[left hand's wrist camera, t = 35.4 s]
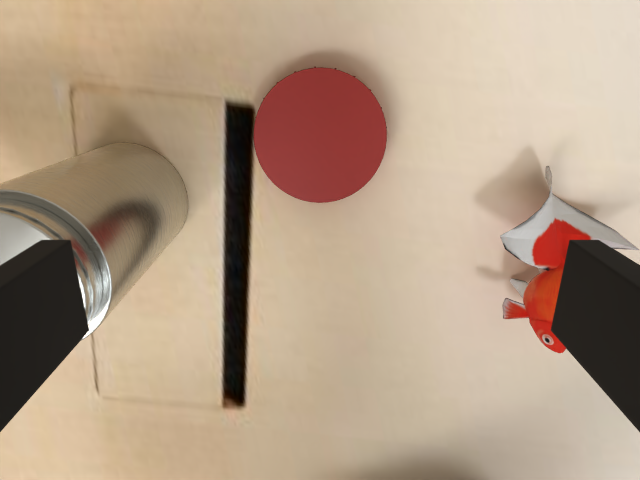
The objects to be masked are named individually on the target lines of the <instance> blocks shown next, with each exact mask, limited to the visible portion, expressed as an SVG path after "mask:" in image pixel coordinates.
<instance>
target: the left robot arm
mask: <svg viewBox="0 0 640 480" xmlns="http://www.w3.org/2000/svg"><path fill="white" fill-rule="evenodd" d="M88 331H89V326H88V321H87V316H86V312H85V307H84V302H83V297H82V292H81V288H80V283H79V278H78V273H77V268H76V263H75V259H74V254H73V249H72V244H71V240H40V241H39V242H37V243H35V244H34V245H32V246H31V247H29V248H27V249H26V250H24V251H22V252H21V253H19V254H18V255H16V256H14V257H13V258H11V259H10V260H8V261H6V262H5V263H3V264H1V265H0V432H1V431H2V429H3V428H4V427H5V426H6V425H7V424H8V423H9V421H10V420H11V419H12V418H13V417H14V416H15V415H16V413H17V412H18V411H19V410H20V409H21V408H22V407H23V405H24V404H25V403H26V402H27V401H28V400H29V399H30V397H31V396H32V395H33V394H34V393H35V392H36V391H37V390H38V388H39V387H40V386H41V385H42V384H43V383H44V382H45V380H46V379H47V378H48V377H49V376H50V375H51V374H52V372H53V371H54V370H55V369H56V368H57V367H58V366H59V364H60V363H61V362H62V361H63V360H64V359H65V358H66V356H67V355H68V354H69V353H70V352H71V351H72V350H73V348H74V347H75V346H76V345H77V344H78V343H79V342H80V341H81V339H82V338H83V337H84V336H85V335H86V334H87V333H88ZM551 331H552V333H553V334H554V335H555V336H556V337H557V338H558V339H559V341H560V342H561V343H562V344H563V345H564V346H565V347H566V348H567V350H568V351H569V352H570V353H571V354H572V355H573V356H574V358H575V359H576V360H577V361H578V362H579V363H580V364H581V366H582V367H583V368H584V369H585V370H586V371H587V372H588V374H589V375H590V376H591V377H592V378H593V379H594V380H595V382H596V383H597V384H598V385H599V386H600V387H601V388H602V390H603V391H604V392H605V393H606V394H607V395H608V396H609V398H610V399H611V400H612V401H613V402H614V403H615V404H616V405H617V407H618V408H619V409H620V410H621V411H622V412H623V413H624V415H625V416H626V417H627V418H628V419H629V420H630V421H631V423H632V424H633V425H634V426H635V427H636V428H637V429H638V431H639V432H640V265H639V264H637V263H635V262H634V261H632V260H630V259H629V258H627V257H626V256H624V255H622V254H621V253H619V252H618V251H616V250H614V249H613V248H611V247H609V246H608V245H606V244H605V243H603V242H601V241H600V240H569V244H568V249H567V254H566V259H565V263H564V268H563V273H562V278H561V283H560V288H559V292H558V297H557V302H556V307H555V312H554V316H553V321H552V326H551Z"/></svg>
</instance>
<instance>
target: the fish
mask: <svg viewBox="0 0 640 480" xmlns="http://www.w3.org/2000/svg"><path fill="white" fill-rule="evenodd" d="M546 180H547V183H548V186H549V190H550V194H549V198H548V199H547V200H546V202H545V203H544V204H543V206H542V207H541V208H540V209H539V210H538V211H537V212H536V213H535V214H534V215H532V216H531V217H530V218H529V219H528V220H527V221H525V222H523V223H522V224H520V225H519V226H517V227H515V228H514V229H512V230H510V231H508V232H506V233H504V234H503V235H501V236H500V237H501V240H502V242H503V245H504V247H505V249H506V250H507V251H509V252H510V253H511V254H513V255H514V256H515V257H517V258H518V259H520V260H521V261H523V262H525V263H527V264H529V265H532V266H535V267H537V268H538V270H539V272H540V274H539V275H537V276H536V277H534V278H533V279H532V280H531V281H530V283H529V284H527V282H525V281H521V280H516V279H511V280H510V282H511V284H512V285H513V286H514V287H515V289H516V290H517V291H518V292H519V294H520V295H521V296H522V298H523V302H524V304H521V303H519V302H516V301H513V300H510V299H508V298H506V299H505V300H504V303H503V313H504V314H503V318H504V319H516V318H529V319H530V324H531V326H532V328H533V329H534V331H535V333H536V335H537V337H538V338H539V339H540V341H541V342H542V343H543V344H544V345H545V346H546V347H548V348H549V349H551V350H552V351H554V352H557V353H563V352H564V351H565V349H566V347H565V346H564V345H563V344H562V343H561V342H560V341H559V339H558V338H557V337H556V336H555V335H554V334H553V333H552V331H551V326H552V321H553V316H554V312H555V307H556V302H557V297H558V292H559V288H560V283H561V278H562V273H563V268H564V263H565V259H566V254H567V249H568V244H569V240H600V241H601V242H603V243H605V244H606V245H608V246H609V247H611V248H613V249H630V250H639V249H638V248H636V247H635V246H634V245H633V244H631V243H630V242H629V241H628V240H626V239H625V238H624V237H623V236H622V235H620V234H619V233H618V232H617V231H615V230H614V229H612V228H610V227H608V226H606V225H605V224H603V223H601V222H599V221H598V220H596V219H594V218H592V217H591V216H589V215H587V214H585V213H583V212H581V211H580V210H578V209H576V208H574V207H572V206H570V205H568V204H567V203H565V202H564V201H562V200H561V199H559V198H558V197H556V196H555V195H553V193H552V175H551V171H550V168H549V166H546Z"/></svg>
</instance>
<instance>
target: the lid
mask: <svg viewBox="0 0 640 480" xmlns="http://www.w3.org/2000/svg"><path fill="white" fill-rule="evenodd" d="M386 128H387V127H386V122H385V118H384V115H383V112H382V107H380V105H379V103H378V101H377V99H376V98H375V96H374V95H373V94H372V92H371V90H370V89H368V88H367V87H366V86H365V85H364V84H363V83H362V82H360V81H359V80H358V79H356V78H355V76H351V75H349V74H347V73H345V72H342V71H340V70H336V68H334V69H331V68H316V67H314V68H310V69H305V70H301V71H298V72H296V71H295V72H294V73H293V74H291V75H289V76H287V77H286V78H284V79H283V80H281V81H280V82H277V84H276V85H275V86H274V87H273V88H272V89H271V90H270V92H269V93H268V94H267V95H266V97H265V98H264V100H263V102H262V104H261V106H260V108H259V110H258V113H257V116H256V120H255V126H254V145H255V150H256V154H257V157H258V160H259V163H260V165H261V167H262V168H263V170H264V172H265V173H266V175H267V176H268V178H269V179H270V180H271V181H272V182H273V183H274V184H275V185H276V186H277V187H278V188H280V189H281V190H282V191H284V192H285V193H287V194H289V195H291V196H293V197H295V198H298V199H300V200H304V201H309V202H317V203H322V202H332V201H337V200H340V199H343V198H345V197H348V196H350V195H352V194H353V193H355V192H357V191H358V190H359V189H361V188H362V187H363V186H364V185H365V184H366V183H367V182H368V181H369V180H370V179H371V178H372V177H373V175H374V174H375V173H376V171H377V169H378V167H379V166H380V163H381V161H382V159H383V156H384V152H385V148H386V140H387V130H386Z"/></svg>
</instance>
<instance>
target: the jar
mask: <svg viewBox="0 0 640 480" xmlns="http://www.w3.org/2000/svg"><path fill="white" fill-rule="evenodd" d="M187 212H188V197H187V192H186V188H185V185H184V183H183V180H182V179H181V177H180V175H179V173H178V172H177V171H176V169H175V168H174V167H173V166H172V164H171V163H170V162H169V161H168V160H166V159H165V158H164V157H163V156H162V155H160V154H159V153H157V152H155V151H154V150H152V149H150V148H147V147H145V146H142V145H138V144H134V143H114V144H109V145H106V146H103V147H100V148H97V149H95V150H92V151H89V152H86V153H84V154H81V155H78V156H75V157H73V158H70V159H67V160H64V161H62V162H59V163H56V164H53V165H51V166H48V167H45V168H42V169H40V170H37V171H34V172H31V173H29V174H26V175H23V176H20V177H18V178H15V179H12V180H9V181H7V182H4V183H1V184H0V265H1V264H3V263H5V262H6V261H8V260H10V259H11V258H13V257H14V256H16V255H18V254H19V253H21V252H22V251H24V250H26V249H27V248H29V247H31V246H32V245H34V244H35V243H37V242H39V241H40V240H71V244H72V249H73V254H74V259H75V263H76V268H77V273H78V278H79V283H80V288H81V292H82V297H83V302H84V307H85V312H86V316H87V321H88V326H89V331H88V333H87V334H86V335H85V336H84V337H83V338H82V339H81V340H83V339H85V338H86V337H88V336H89V335H90V334H91V333H93V332H94V331H95V330H96V329H97V328H98V327H99V325H100V324H101V323H102V322H103V321H104V320H105V319H106V317H107V316H108V315H109V314H110V313H111V311H112V310H113V309H114V308H115V307H116V306H117V304H118V303H119V302H120V301H121V300H122V299H123V297H124V296H125V295H126V294H127V293H128V292H129V290H130V289H131V288H132V287H133V286H134V285H135V283H136V282H137V281H138V280H139V279H140V278H141V276H142V275H143V274H144V273H145V272H146V271H147V269H148V268H149V267H150V266H151V265H152V264H153V262H154V261H155V260H156V259H157V258H158V257H159V255H160V254H161V253H162V252H163V251H164V249H165V248H166V247H167V246H168V245H169V244H170V242H171V241H172V240H173V239H174V238H175V237H176V235H177V234H178V233H179V232H180V230H181V229H182V227H183V225H184V223H185V220H186V217H187Z"/></svg>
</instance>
